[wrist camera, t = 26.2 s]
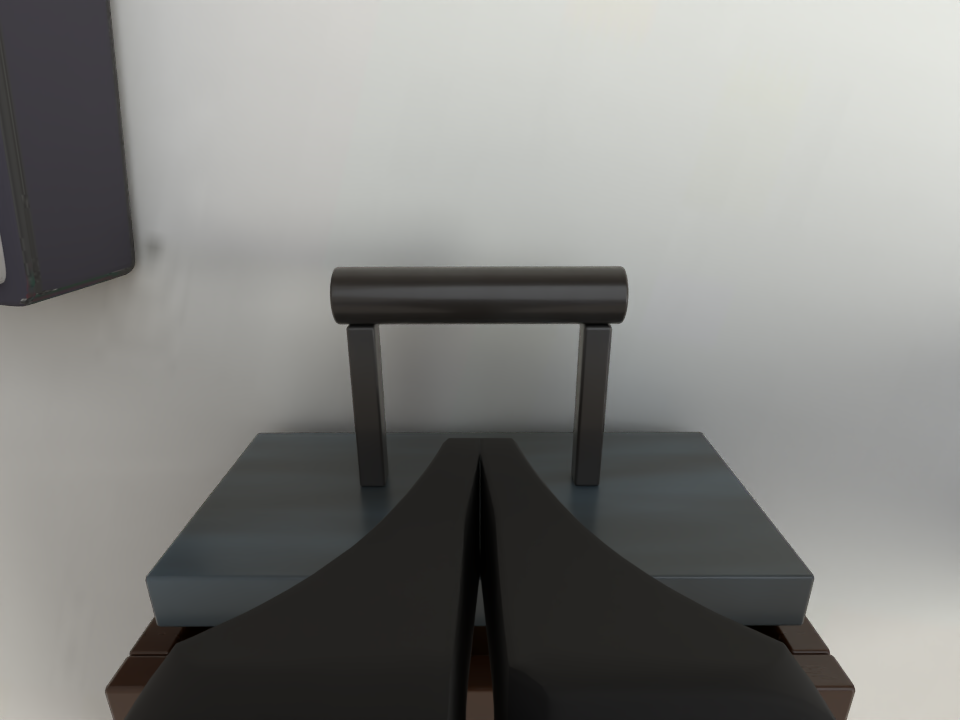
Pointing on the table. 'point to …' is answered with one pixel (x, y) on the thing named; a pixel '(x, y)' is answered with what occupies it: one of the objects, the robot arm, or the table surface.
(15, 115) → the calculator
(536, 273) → the drawer
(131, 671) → the cabinet
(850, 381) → the table surface
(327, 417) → the table surface
